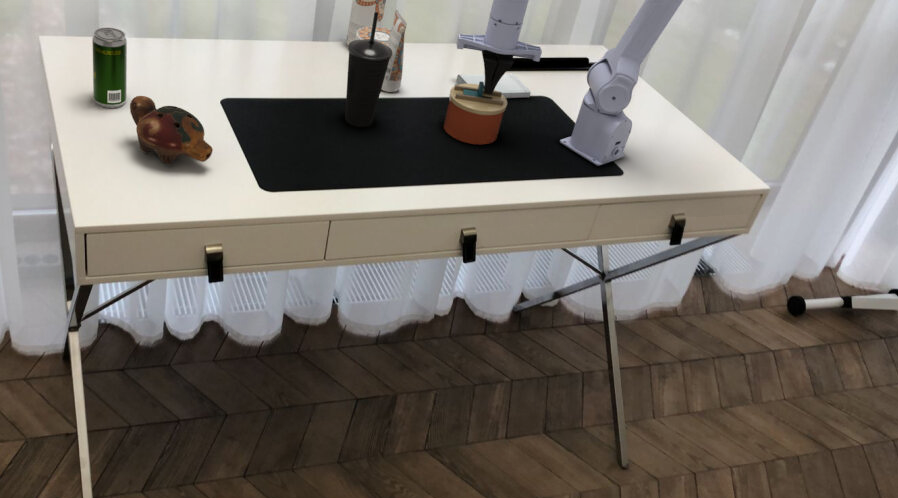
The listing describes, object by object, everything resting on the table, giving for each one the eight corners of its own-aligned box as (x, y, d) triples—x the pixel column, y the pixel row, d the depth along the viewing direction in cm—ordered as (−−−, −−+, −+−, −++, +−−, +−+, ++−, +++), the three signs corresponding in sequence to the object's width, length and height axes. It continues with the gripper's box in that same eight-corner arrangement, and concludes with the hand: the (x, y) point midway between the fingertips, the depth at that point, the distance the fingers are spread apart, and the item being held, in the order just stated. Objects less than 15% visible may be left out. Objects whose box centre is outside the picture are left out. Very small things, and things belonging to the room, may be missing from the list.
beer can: (132, 105, 164) (132, 38, 157) (102, 111, 161) (101, 43, 154) (117, 91, 167) (117, 25, 160) (87, 96, 164) (86, 29, 157)
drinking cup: (374, 135, 170) (394, 26, 158) (332, 124, 171) (348, 15, 158) (383, 116, 176) (403, 10, 164) (343, 106, 177) (359, 0, 165)
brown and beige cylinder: (495, 121, 182) (505, 85, 177) (501, 149, 174) (511, 111, 169) (441, 113, 181) (449, 76, 176) (443, 140, 173) (452, 102, 168)
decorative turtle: (143, 126, 160) (148, 82, 155) (223, 162, 157) (231, 118, 152) (108, 147, 152) (112, 101, 147) (191, 185, 149) (198, 139, 145)
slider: (480, 93, 174) (483, 81, 173) (481, 99, 172) (484, 86, 171) (462, 91, 174) (465, 78, 172) (463, 96, 172) (466, 84, 171)
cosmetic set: (416, 97, 185) (435, 1, 173) (369, 96, 182) (386, -2, 170) (378, 40, 203) (394, -50, 191) (336, 38, 200) (349, -53, 188)
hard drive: (475, 93, 187) (531, 90, 191) (457, 73, 192) (512, 71, 197) (473, 100, 188) (529, 98, 192) (455, 81, 193) (510, 79, 198)
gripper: (545, 15, 168) (525, 87, 176) (462, 2, 167) (446, 75, 175) (550, 31, 163) (529, 105, 171) (465, 18, 161) (448, 92, 169)
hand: (488, 91), depth 173 cm, fingers closed
